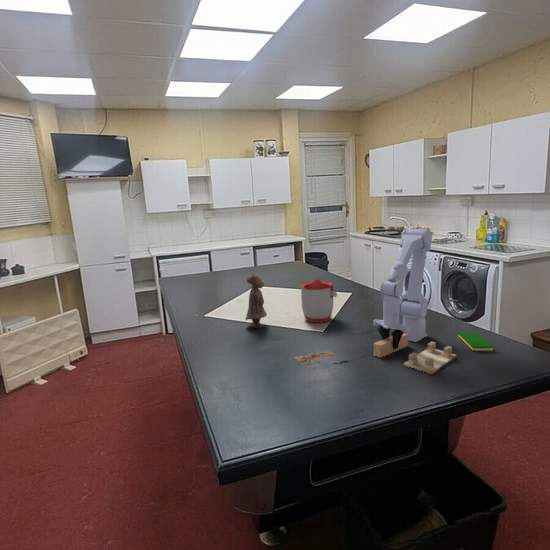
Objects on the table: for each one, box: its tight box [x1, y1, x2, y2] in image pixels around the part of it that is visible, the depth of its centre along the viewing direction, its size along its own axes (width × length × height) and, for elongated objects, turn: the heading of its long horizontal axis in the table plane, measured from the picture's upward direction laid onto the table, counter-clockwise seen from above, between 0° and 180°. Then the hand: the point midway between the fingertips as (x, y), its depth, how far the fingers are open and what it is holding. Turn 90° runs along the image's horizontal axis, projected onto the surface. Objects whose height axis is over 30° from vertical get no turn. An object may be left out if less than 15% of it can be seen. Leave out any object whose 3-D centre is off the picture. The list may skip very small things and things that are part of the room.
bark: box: [288, 350, 339, 365], centre depth 141 cm, size 22×12×1 cm, turn 111°
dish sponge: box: [458, 332, 494, 351], centre depth 148 cm, size 7×14×2 cm, turn 176°
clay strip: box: [373, 333, 409, 358], centre depth 146 cm, size 16×3×5 cm, turn 125°
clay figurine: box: [245, 273, 268, 329], centre depth 178 cm, size 13×10×25 cm
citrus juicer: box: [299, 278, 338, 323], centre depth 184 cm, size 16×17×20 cm
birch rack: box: [403, 341, 457, 375], centre depth 135 cm, size 18×10×4 cm, turn 132°
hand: (390, 346), depth 146 cm, fingers closed on clay strip, 3 cm apart
